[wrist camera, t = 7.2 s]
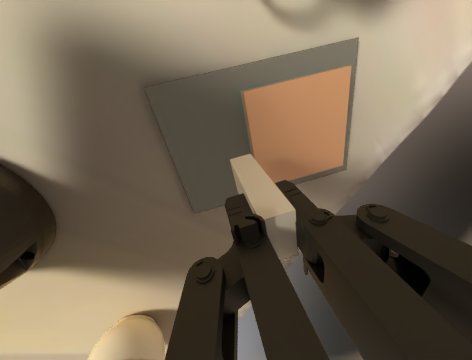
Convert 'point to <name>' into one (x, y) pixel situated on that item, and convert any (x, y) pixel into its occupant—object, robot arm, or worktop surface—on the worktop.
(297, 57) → the mat
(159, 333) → the lidded jar
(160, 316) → the worktop surface
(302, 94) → the tile
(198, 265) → the robot arm
